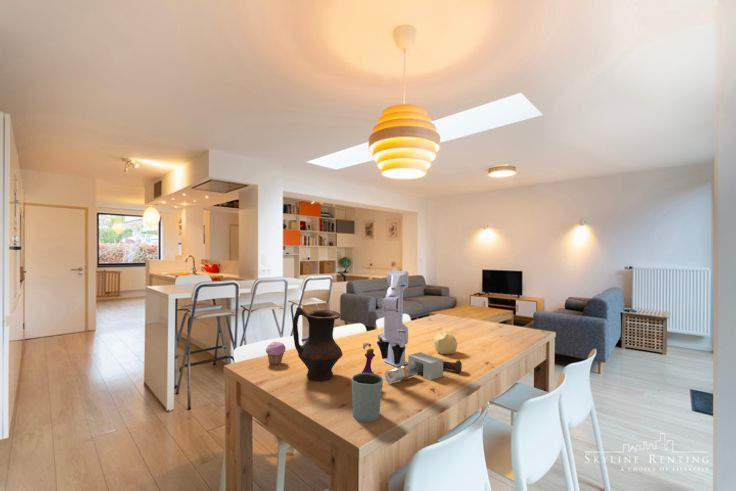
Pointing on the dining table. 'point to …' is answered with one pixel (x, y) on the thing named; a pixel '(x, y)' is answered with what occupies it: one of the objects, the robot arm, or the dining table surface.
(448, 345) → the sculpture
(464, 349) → the dining table surface
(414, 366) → the silver copper cylinder
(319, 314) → the jug
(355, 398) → the grey-green cup
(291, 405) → the dining table surface
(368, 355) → the perfume bottle
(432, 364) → the block
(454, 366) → the bolt
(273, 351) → the cupcake
